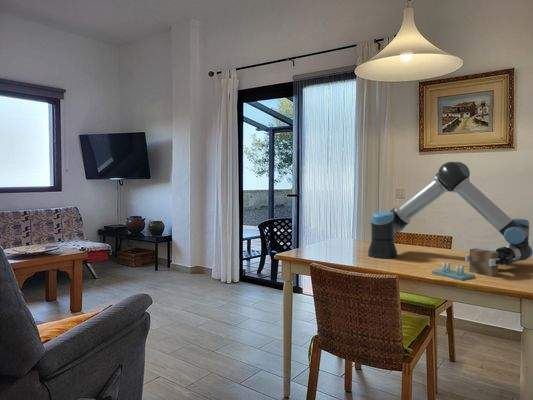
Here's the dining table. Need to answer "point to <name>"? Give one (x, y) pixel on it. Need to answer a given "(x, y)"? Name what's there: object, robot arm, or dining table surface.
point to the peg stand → (453, 272)
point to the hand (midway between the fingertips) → (477, 260)
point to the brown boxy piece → (482, 262)
